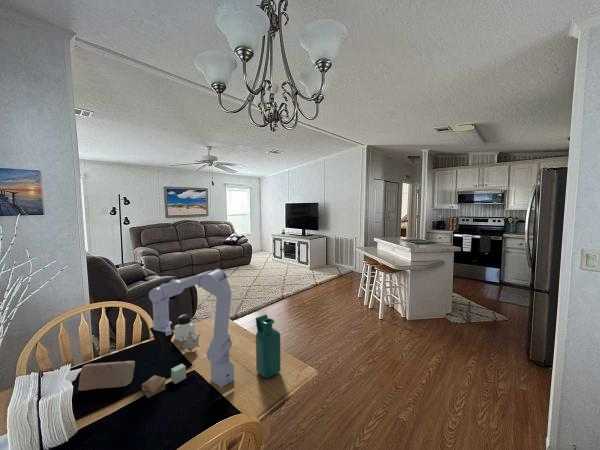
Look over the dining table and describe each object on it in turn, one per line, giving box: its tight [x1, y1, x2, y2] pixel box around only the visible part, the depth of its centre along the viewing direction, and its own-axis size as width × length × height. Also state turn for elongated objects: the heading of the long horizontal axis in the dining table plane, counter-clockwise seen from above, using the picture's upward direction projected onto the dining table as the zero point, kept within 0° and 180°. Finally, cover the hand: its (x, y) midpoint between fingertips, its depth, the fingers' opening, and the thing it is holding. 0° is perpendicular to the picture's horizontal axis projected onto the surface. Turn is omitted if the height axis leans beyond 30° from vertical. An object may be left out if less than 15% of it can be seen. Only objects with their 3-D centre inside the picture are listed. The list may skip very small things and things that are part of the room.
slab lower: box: [142, 384, 166, 399], centre depth 97 cm, size 6×6×2 cm
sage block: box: [170, 363, 187, 385], centre depth 103 cm, size 3×4×5 cm
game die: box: [180, 332, 201, 352], centre depth 122 cm, size 9×8×10 cm
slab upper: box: [141, 374, 167, 393], centre depth 97 cm, size 6×6×2 cm
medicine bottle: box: [174, 314, 196, 344], centre depth 135 cm, size 7×7×12 cm
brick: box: [77, 360, 136, 392], centre depth 99 cm, size 17×8×5 cm
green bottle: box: [255, 314, 282, 379], centre depth 108 cm, size 10×8×22 cm
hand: (162, 346), depth 108 cm, fingers open, 7 cm apart
